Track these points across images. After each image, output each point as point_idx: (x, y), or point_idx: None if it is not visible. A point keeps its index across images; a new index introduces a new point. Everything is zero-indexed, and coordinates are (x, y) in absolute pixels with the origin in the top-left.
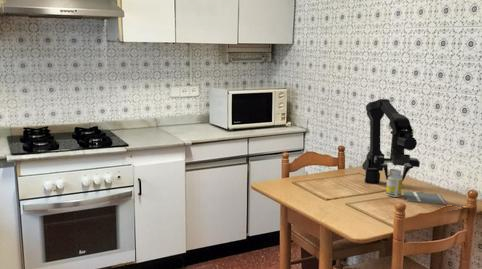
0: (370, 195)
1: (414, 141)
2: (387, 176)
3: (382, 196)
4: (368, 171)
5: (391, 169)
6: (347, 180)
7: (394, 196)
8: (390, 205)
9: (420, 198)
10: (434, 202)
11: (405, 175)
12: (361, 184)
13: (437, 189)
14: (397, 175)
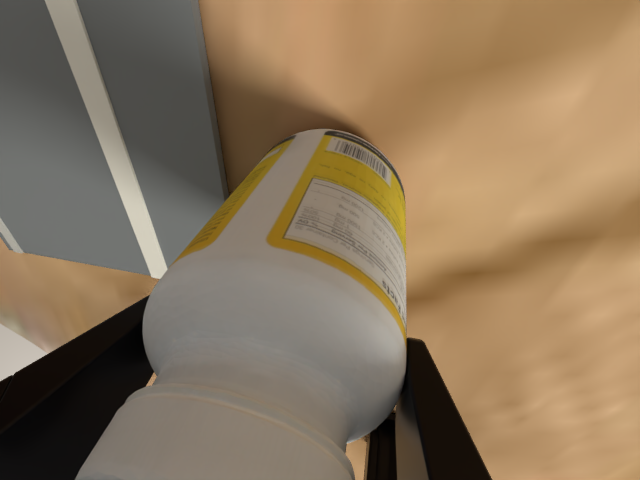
0: (619, 160)
1: None
2: (415, 384)
3: (464, 146)
4: None
5: None
6: (579, 470)
7: (330, 130)
8: None
9: (81, 115)
10: None
11: (54, 354)
12: (513, 415)
13: (69, 337)
14: (200, 359)
